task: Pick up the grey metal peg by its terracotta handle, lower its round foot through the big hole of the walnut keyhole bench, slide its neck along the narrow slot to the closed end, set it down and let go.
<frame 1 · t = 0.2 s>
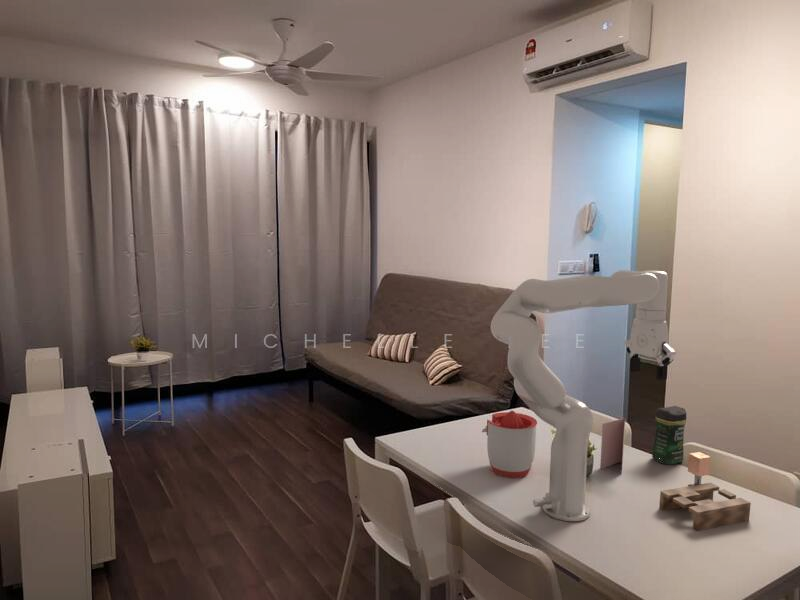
hand: (647, 375, 164), 36 cm above the table, fingers open, 9 cm apart
keyhole bench: (703, 514, 160), on the table
greeting card: (618, 468, 190), on the table
coffee jar: (667, 461, 197), on the table
citrus juicer: (507, 471, 187), on the table
keyhole peg: (696, 492, 173), on the table
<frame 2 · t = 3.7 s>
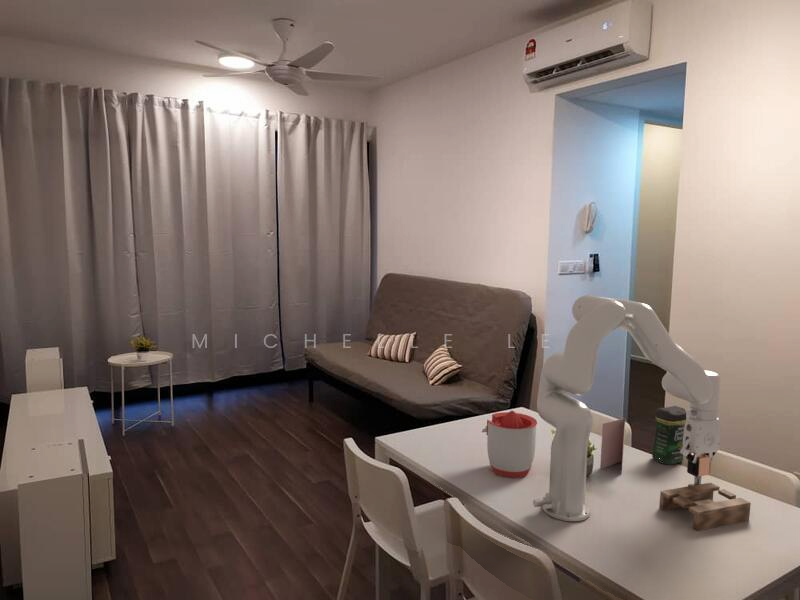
hand: (698, 472, 172), 6 cm above the table, fingers closed on keyhole peg, 4 cm apart
keyhole peg: (696, 492, 173), on the table, touching gripper
everything else where it was.
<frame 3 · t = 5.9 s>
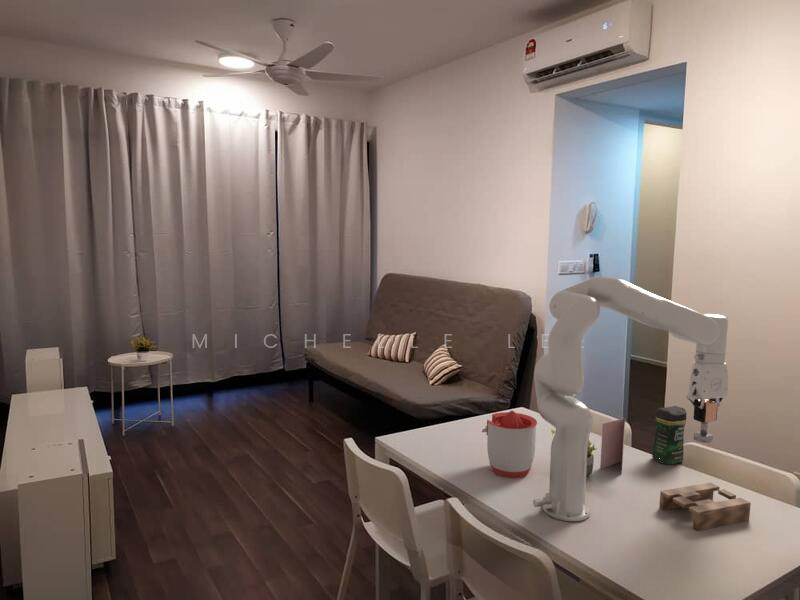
hand: (704, 419, 168), 23 cm above the table, fingers closed on keyhole peg, 4 cm apart
keyhole peg: (703, 439, 169), point 17 cm above the table, touching gripper
everything else where it was.
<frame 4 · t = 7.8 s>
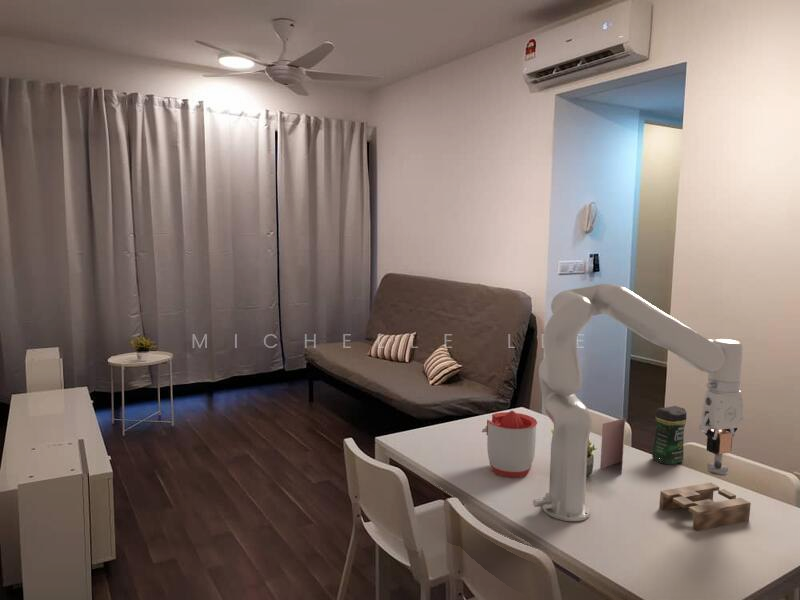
hand: (718, 450, 159), 18 cm above the table, fingers closed on keyhole peg, 4 cm apart
keyhole peg: (717, 471, 159), point 12 cm above the table, touching gripper
everything else where it was.
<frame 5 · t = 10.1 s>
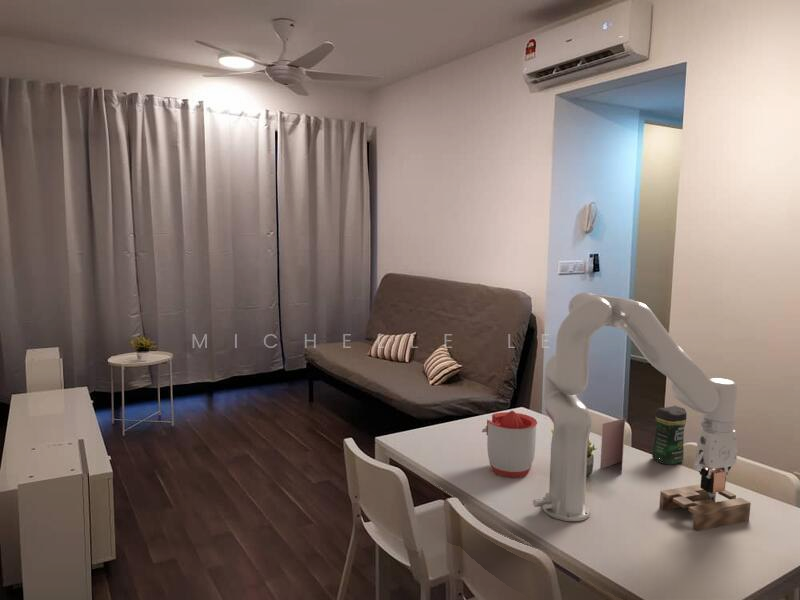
hand: (712, 488, 160), 7 cm above the table, fingers closed on keyhole peg, 4 cm apart
keyhole peg: (710, 509, 161), point 1 cm above the table, touching gripper
everything else where it was.
when the fingers open (7 cm above the table, at t = 12.0 s): keyhole peg stays where it is, on the table.
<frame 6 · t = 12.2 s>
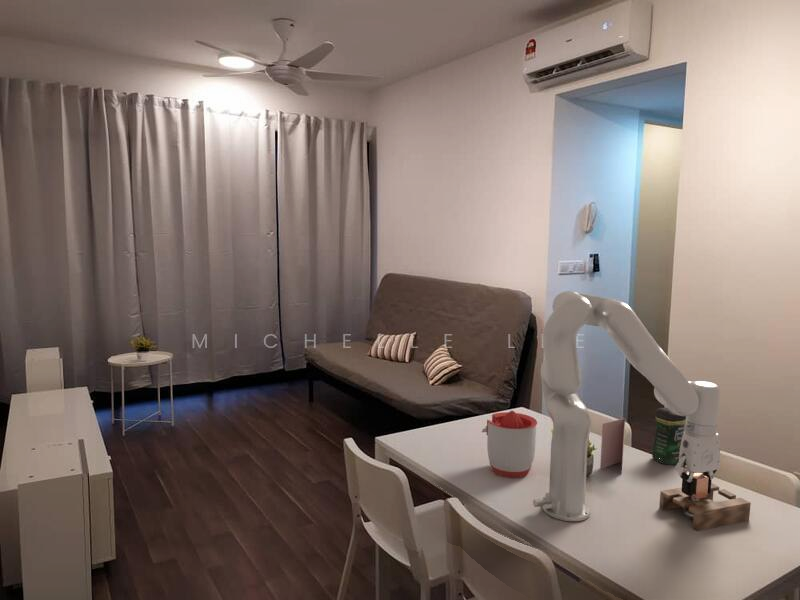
hand: (695, 492, 158), 7 cm above the table, fingers open, 5 cm apart
keyhole peg: (693, 515, 159), on the table
everything else where it was.
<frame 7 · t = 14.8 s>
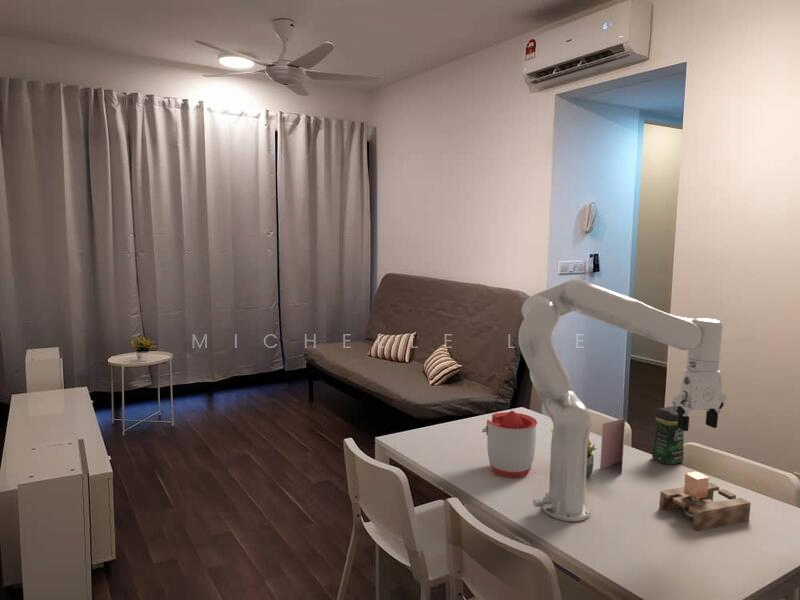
hand: (696, 427, 156), 25 cm above the table, fingers open, 9 cm apart
nothing on the table moved.
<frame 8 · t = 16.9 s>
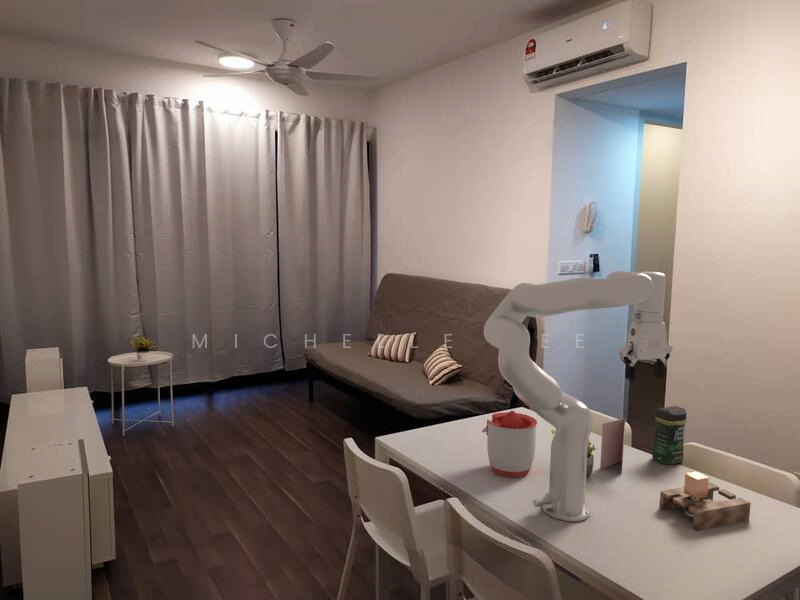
hand: (644, 378, 162), 36 cm above the table, fingers open, 9 cm apart
nothing on the table moved.
at the end: keyhole peg 0.0 cm from the target spot on the keyhole bench, point 0.0 cm above the keyhole bench's base; keyhole peg tilted 0°; the gripper is holding nothing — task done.
